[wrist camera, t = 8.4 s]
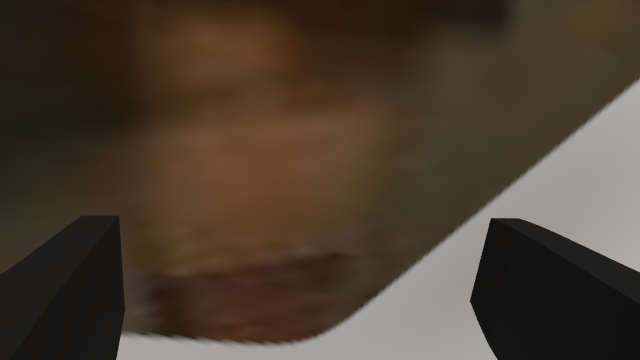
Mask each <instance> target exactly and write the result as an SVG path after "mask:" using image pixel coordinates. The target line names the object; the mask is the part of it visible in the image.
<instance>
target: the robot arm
mask: <svg viewBox="0 0 640 360" xmlns="http://www.w3.org/2000/svg"><path fill="white" fill-rule="evenodd" d="M470 302H471V305H472V307H473V310H474V312H475V315H476V317H477V320H478V322H479V325H480V327H481V329H482V331H483V334H484V335H485V338H486V340H487V342H488V344H489V346H490V348H491V349H492V351H493V353H494V355H495V356H496V358H497V359H498V360H640V272H638V271H636V270H633V269H631V268H629V267H627V266H624V265H623V264H620V263H618V262H616V261H614V260H612V259H610V258H608V257H606V256H603V255H601V254H599V253H597V252H595V251H593V250H591V249H589V248H587V247H584V246H582V245H580V244H578V243H576V242H574V241H572V240H570V239H568V238H565V237H563V236H561V235H559V234H557V233H554V232H552V231H550V230H548V229H545V228H543V227H541V226H538V225H536V224H533V223H530V222H528V221H525V220H522V219H516V218H514V219H512V218H502V219H501V218H491V220H490V224H489V228H488V232H487V236H486V240H485V244H484V248H483V252H482V256H481V259H480V263H479V268H478V271H477V276H476V280H475V283H474V287H473V291H472V295H471V299H470ZM124 312H125V304H124V288H123V272H122V256H121V240H120V224H119V216H82V217H80V218H78V219H77V220H75V221H74V222H73V223H71V224H70V225H68V226H67V227H66V228H64V229H63V230H62V231H60V232H59V233H58V234H56V235H55V236H54V237H52V238H51V239H50V240H48V241H47V242H46V243H44V244H43V245H42V246H40V247H39V248H38V249H36V250H35V251H33V252H32V253H31V254H29V255H28V256H27V257H25V258H24V259H22V260H21V261H20V262H18V263H17V264H16V265H14V266H13V267H11V268H10V269H9V270H7V271H6V272H4V273H3V274H1V275H0V360H116V358H117V352H118V347H119V341H120V336H121V330H122V324H123V318H124Z"/></svg>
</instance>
